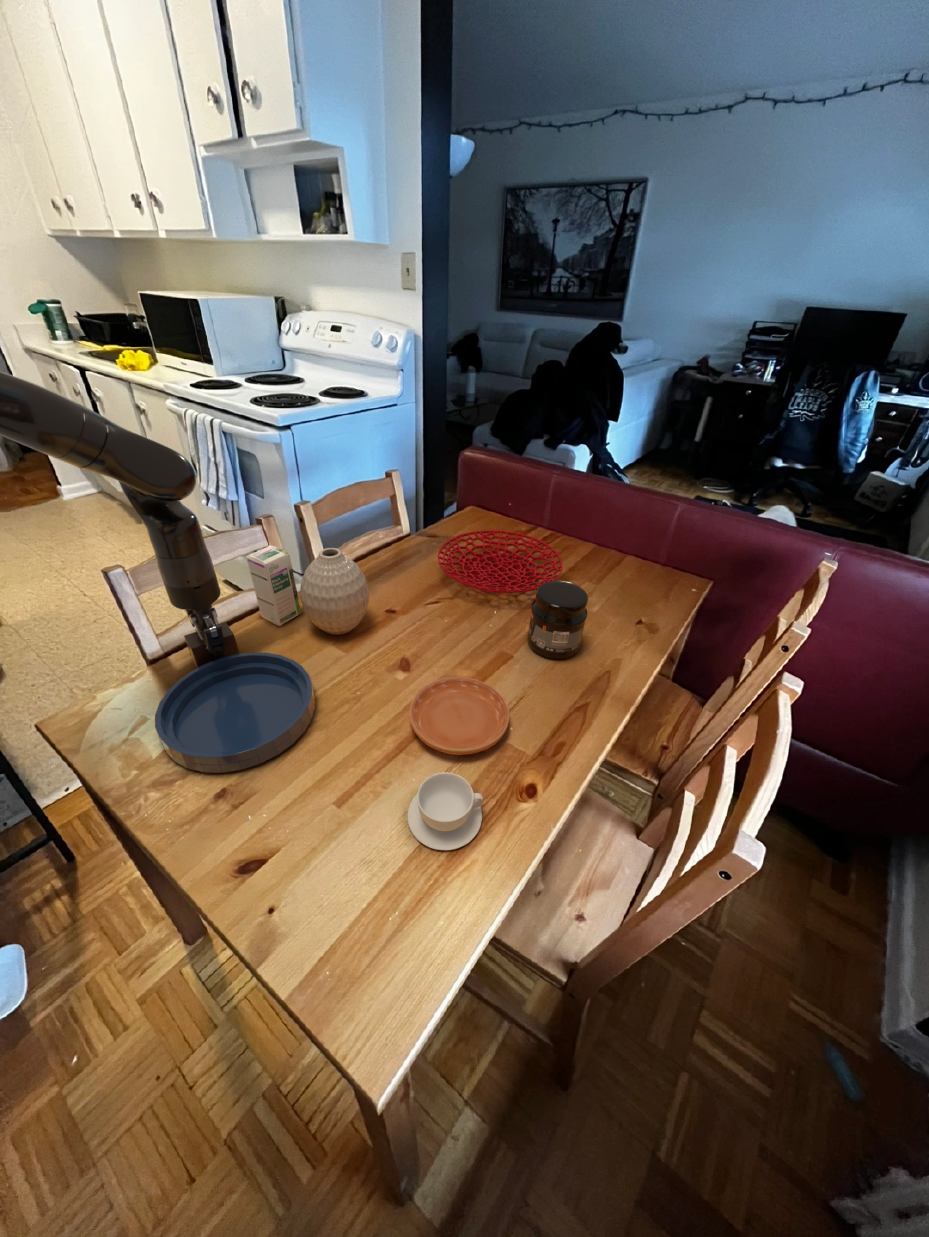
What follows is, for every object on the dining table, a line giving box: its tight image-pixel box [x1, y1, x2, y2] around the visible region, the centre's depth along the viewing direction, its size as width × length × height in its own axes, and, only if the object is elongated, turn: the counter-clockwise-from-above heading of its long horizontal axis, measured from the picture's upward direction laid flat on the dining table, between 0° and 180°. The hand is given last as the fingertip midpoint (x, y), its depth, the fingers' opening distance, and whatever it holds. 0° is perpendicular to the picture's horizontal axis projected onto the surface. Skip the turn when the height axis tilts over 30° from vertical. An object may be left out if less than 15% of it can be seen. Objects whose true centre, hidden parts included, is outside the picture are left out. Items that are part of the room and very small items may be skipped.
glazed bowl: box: [154, 651, 316, 773], centre depth 79 cm, size 23×23×4 cm
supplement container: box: [526, 580, 589, 660], centre depth 95 cm, size 10×10×12 cm
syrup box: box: [245, 544, 302, 627], centre depth 98 cm, size 6×6×14 cm
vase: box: [299, 547, 370, 636], centre depth 96 cm, size 13×13×17 cm
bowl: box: [437, 529, 564, 594], centre depth 118 cm, size 29×29×5 cm
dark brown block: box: [183, 621, 241, 669], centre depth 88 cm, size 7×4×6 cm, turn 129°
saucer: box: [408, 676, 510, 756], centre depth 80 cm, size 16×16×3 cm
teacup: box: [407, 771, 484, 851], centre depth 66 cm, size 10×10×5 cm
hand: (215, 655), depth 89 cm, fingers closed on dark brown block, 4 cm apart
